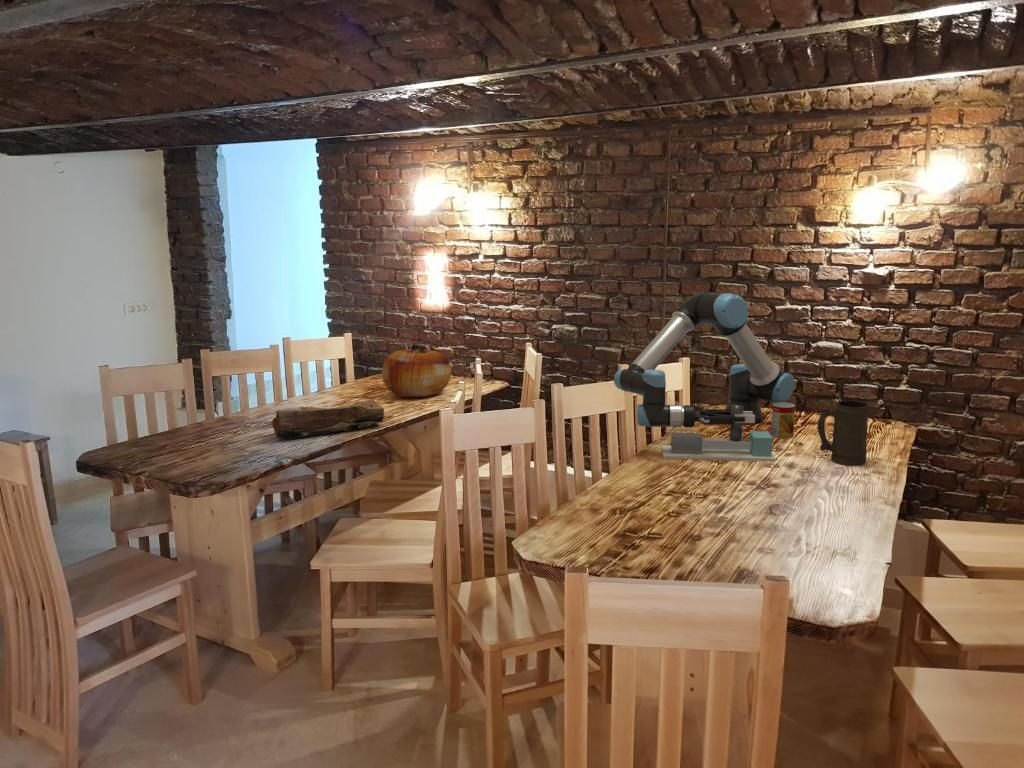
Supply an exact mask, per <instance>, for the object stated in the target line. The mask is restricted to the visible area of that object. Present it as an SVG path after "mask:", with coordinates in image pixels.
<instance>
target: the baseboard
mask: <svg viewBox="0 0 1024 768" xmlns="http://www.w3.org/2000/svg"><path fill="white" fill-rule="evenodd" d="M661 450H662V451H661V453H662V458H663V459H672V460H702V461H703V460H704V461H708V460H709V461H711V460H712V461H742V462H745V461H746V462H774V463H775V462H776V461H777V460H776V457H775V455H774V454H773V453H772V454H771V457H761V456H752V454H751V452H750V450H727V449H702V454H684V453H672V451H671V445H661Z"/></svg>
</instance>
